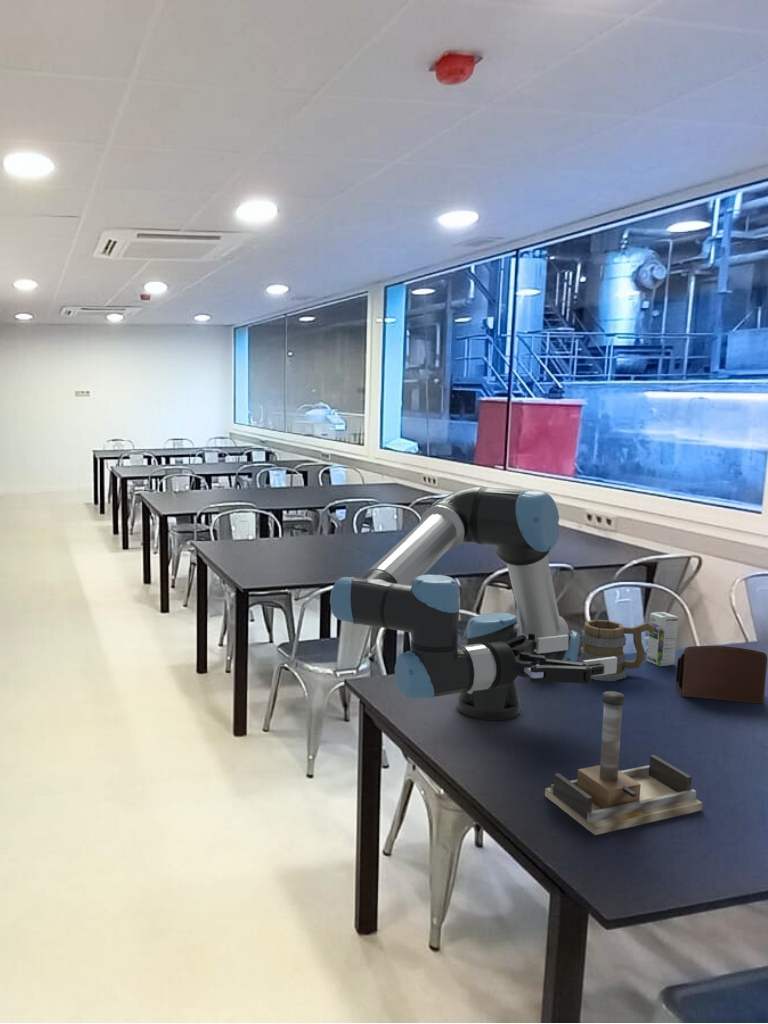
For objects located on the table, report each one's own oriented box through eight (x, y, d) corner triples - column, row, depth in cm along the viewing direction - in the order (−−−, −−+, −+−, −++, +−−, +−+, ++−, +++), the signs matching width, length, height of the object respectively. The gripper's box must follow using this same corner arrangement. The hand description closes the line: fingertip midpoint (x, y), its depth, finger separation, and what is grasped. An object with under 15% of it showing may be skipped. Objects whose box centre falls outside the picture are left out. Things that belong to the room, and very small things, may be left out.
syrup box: (645, 660, 236) (649, 612, 234) (662, 659, 238) (665, 611, 236) (658, 666, 230) (662, 617, 228) (675, 665, 232) (679, 616, 230)
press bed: (595, 835, 138) (596, 805, 138) (544, 795, 152) (546, 768, 151) (701, 810, 148) (703, 782, 147) (645, 775, 162) (647, 749, 161)
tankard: (580, 679, 218) (583, 625, 216) (575, 665, 230) (578, 614, 228) (656, 684, 215) (660, 630, 213) (647, 669, 228) (651, 618, 226)
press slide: (617, 818, 141) (623, 711, 138) (576, 789, 151) (582, 689, 149) (648, 811, 143) (655, 706, 141) (607, 783, 154) (613, 684, 151)
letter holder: (764, 704, 203) (768, 650, 201) (681, 697, 207) (685, 644, 205) (754, 691, 212) (758, 639, 210) (675, 684, 216) (679, 633, 214)
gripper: (450, 665, 146) (548, 653, 154) (526, 714, 123) (636, 697, 132) (451, 624, 145) (550, 614, 153) (528, 667, 122) (639, 653, 131)
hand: (590, 653), depth 142 cm, fingers open, 13 cm apart
